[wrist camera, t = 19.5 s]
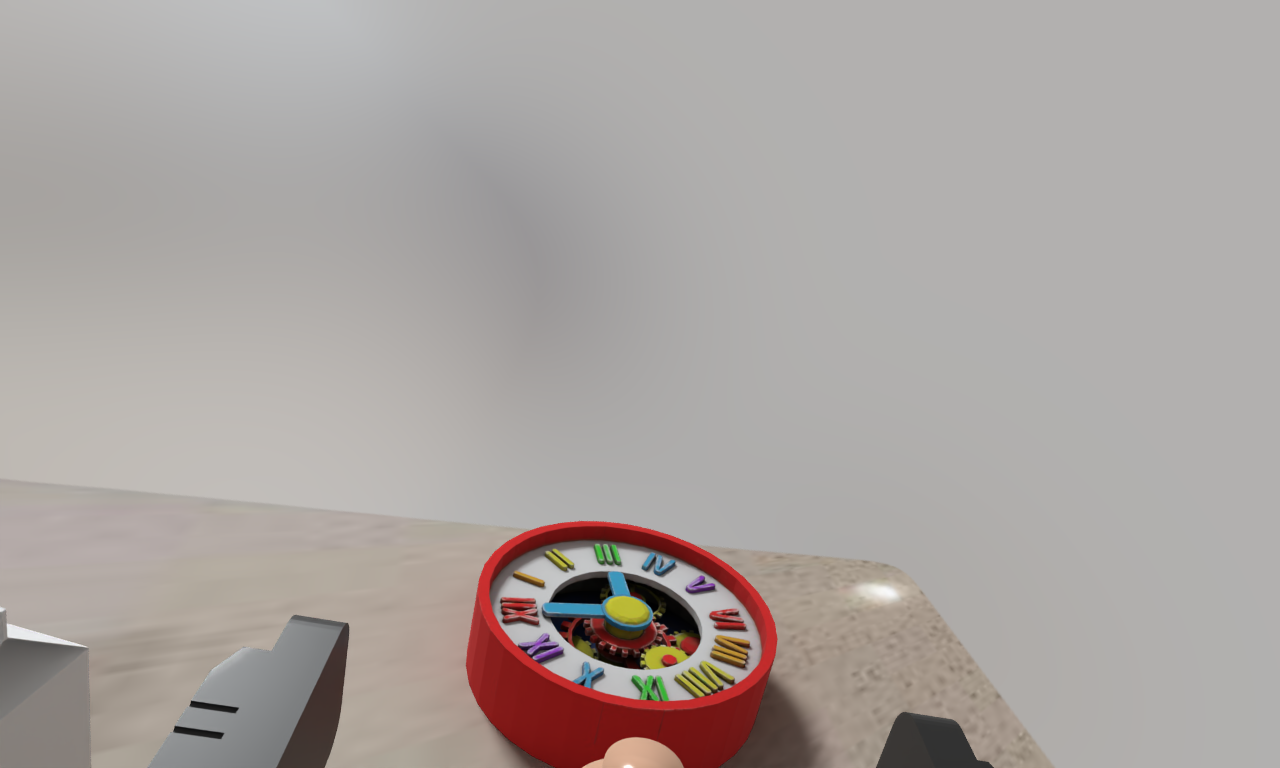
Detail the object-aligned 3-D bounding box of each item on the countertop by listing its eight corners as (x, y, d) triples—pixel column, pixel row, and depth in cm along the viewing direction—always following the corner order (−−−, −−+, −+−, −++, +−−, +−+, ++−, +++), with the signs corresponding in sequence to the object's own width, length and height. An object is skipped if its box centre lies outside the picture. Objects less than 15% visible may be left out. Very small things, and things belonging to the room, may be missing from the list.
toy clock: (826, 711, 51) (485, 709, 46) (800, 786, 53) (471, 792, 48) (725, 529, 69) (471, 512, 64) (708, 590, 71) (461, 579, 66)
